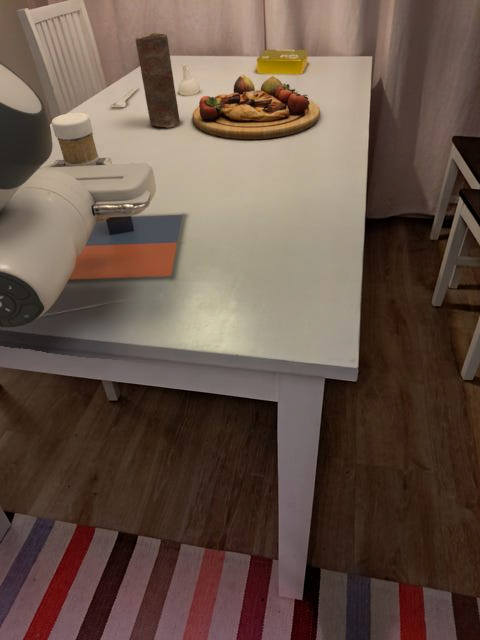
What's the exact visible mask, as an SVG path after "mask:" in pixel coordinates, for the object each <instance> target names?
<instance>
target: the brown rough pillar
mask: <svg viewBox="0 0 480 640" xmlns="http://www.w3.org/2000/svg"><path fill="white" fill-rule="evenodd" d="M135 45H136V50H137V56H138V62H139V66H140V73H141V79H142V83H143V90H144V97H145V102H146V106H147V113H148V119H149V123H150V124H151V125H152V126H154V127H155V126H156V127H159V128H160V127H161V128H162V127H163V128H177V127H178V126H180V124H181V121H180V114H179V106H178V100H177V94H176V87H175V82H174V81H175V80H174V74H173V68H172V67H173V66H172V59H171V53H170V47H169V39H168V35H167V34H166V33H158V32H152V33H150V34H149V35H146V36H142V37H140V38H138V37H136V38H135Z"/></svg>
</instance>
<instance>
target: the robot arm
mask: <svg viewBox="0 0 480 640" xmlns="http://www.w3.org/2000/svg"><path fill="white" fill-rule="evenodd" d="M50 123H51V122H50V120H49V116H48V112H47V110H46V107H45V105H44V102H43V100H42V99H41V97H40V95H39V94H38V93H37V92H36V91H35V90H34V89H33V88H32V87H31V86H30V85H29V83H27V82H26V80H24V79H23V78H22V77H20V76H19V74H17V73H15V72H14V70H12V69H11V68H10V67H8V66H7V65H6V64H5V63H3V62H2V61H1V60H0V328H14V327H21V326H25V325H27V324H30V323H32V322H34V321H36V320H37V319H40V317H42V316H43V315H44V314H46V313H47V312H48V311H49V310H50V308H52V306H53V305H54V304H55V303H56V301H57V299H58V298H59V297H60V295H61V294H62V292H63V290H64V289H65V287H66V285H67V284H68V282H69V278H70V276H71V274H72V272H73V270H74V267H75V264H76V258H77V257H78V256H79V255H80V253H81V252H82V251H83V249H84V247H85V245H86V243H87V241H88V239H89V237H90V235H91V232H92V230H93V228H94V226H95V224H96V220H97V218H103V217H126V216H131V217H135V216H137V215H140V214H141V213H142V212H144V211H145V210H146V209H147V208H149V206H150V204H151V202H152V201H153V198H154V197H155V195H156V193H157V184H156V178H155V172H154V168H153V167H152V166H151V165H150V164H148V163H145V162H139V163H137V162H136V163H118V164H113V163H112V158H111V157H99V160H98V161H97V162H96V163H97V165H91V166H68V167H65V163H64V159H55V160H54V162H53V163H51V164H48V165H45V166H43V165H44V164H45V163H46V162H47V161H48V160H49V159H50V157H51V155H52V152H53V136H52V130H51V124H50ZM42 166H43V167H42Z"/></svg>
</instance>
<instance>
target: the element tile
mask: <svg viewBox="0 0 480 640" xmlns="http://www.w3.org/2000/svg"><path fill="white" fill-rule="evenodd" d="M307 66H308V50H307V49H288V48H287V49H265V50H263V51H262V52H261V54H259V56H257V58H256V73H257V74H260V75H301V74H303V73H304V71H305V69H306V67H307Z"/></svg>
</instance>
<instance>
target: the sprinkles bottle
mask: <svg viewBox="0 0 480 640" xmlns="http://www.w3.org/2000/svg"><path fill="white" fill-rule="evenodd" d="M92 125H93V124H92V122H91V118H90V116H89V115H88V114H86V113H83V112H70V113H64V114H61V115H57V116H56V117H54V118H53V119H52V120H51V126H52V130H53V133H54V136H55V137H56V139H57V141H58V144H59V148H60V150H61V154H62V160H64V163H65V167H68V166H91V165H97V163H96V162H97V161H98V160H99V158H100V157H99V154H98V151H97V147H96V144H95V140H94V133H93V126H92ZM108 218H110V217H103V218H97V220H96V223H97V222H101V221H105V220H107V219H108Z"/></svg>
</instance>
